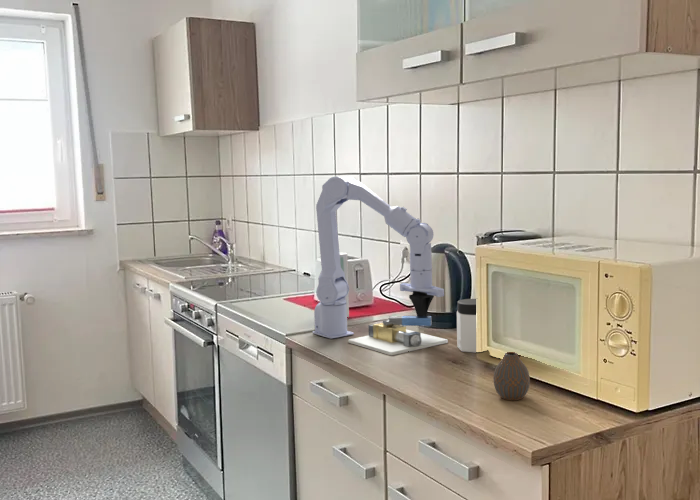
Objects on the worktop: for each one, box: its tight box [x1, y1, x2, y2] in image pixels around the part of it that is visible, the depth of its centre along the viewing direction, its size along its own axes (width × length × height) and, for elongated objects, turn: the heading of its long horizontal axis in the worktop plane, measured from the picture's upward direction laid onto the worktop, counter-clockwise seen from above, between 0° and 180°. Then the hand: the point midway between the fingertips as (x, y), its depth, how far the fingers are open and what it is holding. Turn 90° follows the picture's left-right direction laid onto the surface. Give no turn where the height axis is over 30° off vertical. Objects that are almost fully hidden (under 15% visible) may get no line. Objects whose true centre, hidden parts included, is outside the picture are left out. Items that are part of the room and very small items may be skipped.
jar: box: [456, 298, 477, 354], centre depth 173 cm, size 9×8×12 cm
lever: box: [382, 315, 432, 327], centre depth 182 cm, size 13×3×2 cm, turn 80°
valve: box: [367, 322, 422, 347], centre depth 181 cm, size 18×5×4 cm, turn 36°
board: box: [347, 328, 449, 356], centre depth 182 cm, size 18×19×1 cm
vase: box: [493, 352, 531, 401], centre depth 135 cm, size 7×7×9 cm
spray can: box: [340, 252, 350, 318], centre depth 216 cm, size 6×6×20 cm
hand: (422, 320), depth 184 cm, fingers closed
